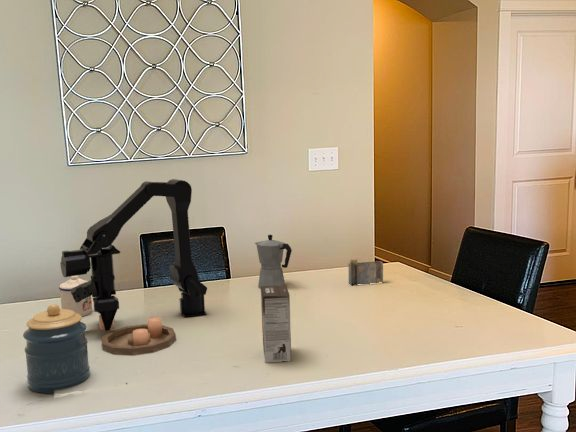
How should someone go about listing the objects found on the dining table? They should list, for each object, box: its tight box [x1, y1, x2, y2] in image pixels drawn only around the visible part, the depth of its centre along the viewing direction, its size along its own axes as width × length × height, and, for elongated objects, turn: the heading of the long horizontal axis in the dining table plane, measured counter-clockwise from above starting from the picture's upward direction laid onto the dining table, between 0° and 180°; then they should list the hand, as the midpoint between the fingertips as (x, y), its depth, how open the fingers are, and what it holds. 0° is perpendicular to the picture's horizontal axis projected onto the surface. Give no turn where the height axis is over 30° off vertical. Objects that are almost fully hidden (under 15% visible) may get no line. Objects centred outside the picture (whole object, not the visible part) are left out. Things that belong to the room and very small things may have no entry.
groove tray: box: [101, 323, 177, 356], centre depth 160 cm, size 18×18×3 cm
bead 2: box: [133, 329, 149, 346], centre depth 155 cm, size 4×4×4 cm
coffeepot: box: [254, 234, 293, 290], centre depth 212 cm, size 15×9×18 cm, turn 51°
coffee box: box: [260, 284, 292, 364], centre depth 150 cm, size 9×6×16 cm
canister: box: [22, 303, 91, 394], centre depth 137 cm, size 13×13×18 cm
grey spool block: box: [347, 258, 384, 286], centre depth 213 cm, size 11×3×10 cm, turn 99°
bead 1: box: [98, 314, 115, 331], centre depth 172 cm, size 4×4×4 cm
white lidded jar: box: [58, 275, 93, 317], centre depth 190 cm, size 12×9×12 cm
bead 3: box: [146, 316, 163, 338], centre depth 164 cm, size 4×4×4 cm
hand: (106, 327), depth 172 cm, fingers open, 6 cm apart
